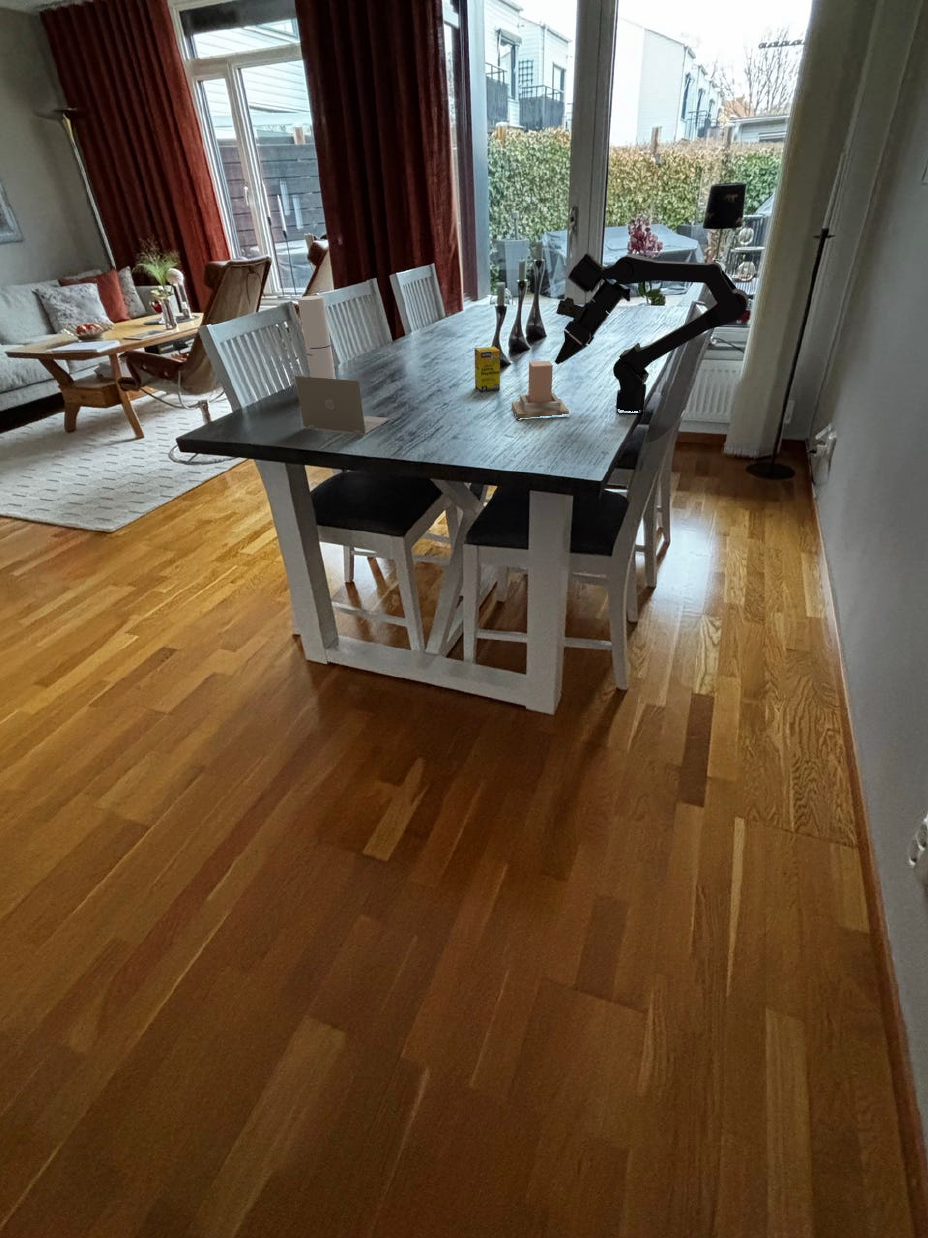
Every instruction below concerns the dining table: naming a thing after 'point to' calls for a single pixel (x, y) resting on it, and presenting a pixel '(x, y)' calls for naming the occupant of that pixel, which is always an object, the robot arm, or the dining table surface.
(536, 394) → the terracotta peg
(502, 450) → the dining table surface
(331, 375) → the cylindrical container
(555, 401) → the plate
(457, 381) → the dining table surface
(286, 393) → the dining table surface
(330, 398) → the laptop
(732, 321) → the robot arm
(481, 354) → the supplement box
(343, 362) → the dining table surface
